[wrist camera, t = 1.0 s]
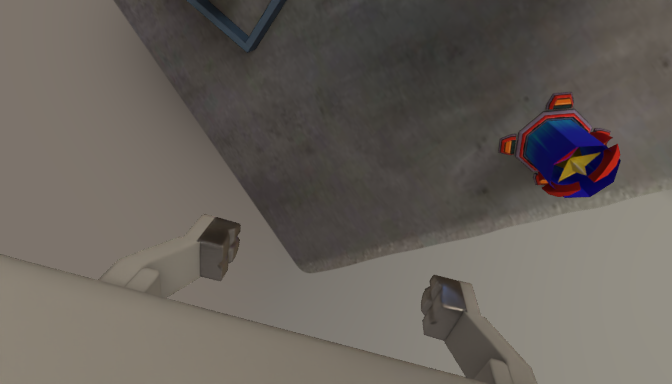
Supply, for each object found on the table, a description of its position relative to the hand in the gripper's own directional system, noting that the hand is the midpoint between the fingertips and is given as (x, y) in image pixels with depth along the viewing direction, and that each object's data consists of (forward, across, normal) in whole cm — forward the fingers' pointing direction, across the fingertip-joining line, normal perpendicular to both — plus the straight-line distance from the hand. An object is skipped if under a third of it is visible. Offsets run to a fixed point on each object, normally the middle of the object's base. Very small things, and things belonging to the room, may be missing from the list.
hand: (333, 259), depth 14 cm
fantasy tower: (+39, -28, +3) cm, 48 cm away
